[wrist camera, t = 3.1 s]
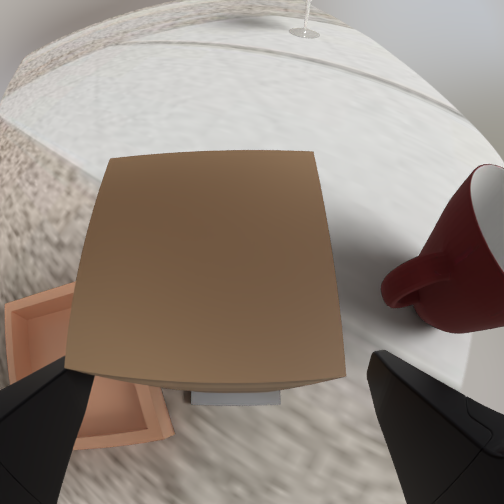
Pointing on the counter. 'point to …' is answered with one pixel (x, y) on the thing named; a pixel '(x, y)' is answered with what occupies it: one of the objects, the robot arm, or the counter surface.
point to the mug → (459, 261)
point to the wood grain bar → (209, 277)
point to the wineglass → (304, 31)
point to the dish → (103, 389)
